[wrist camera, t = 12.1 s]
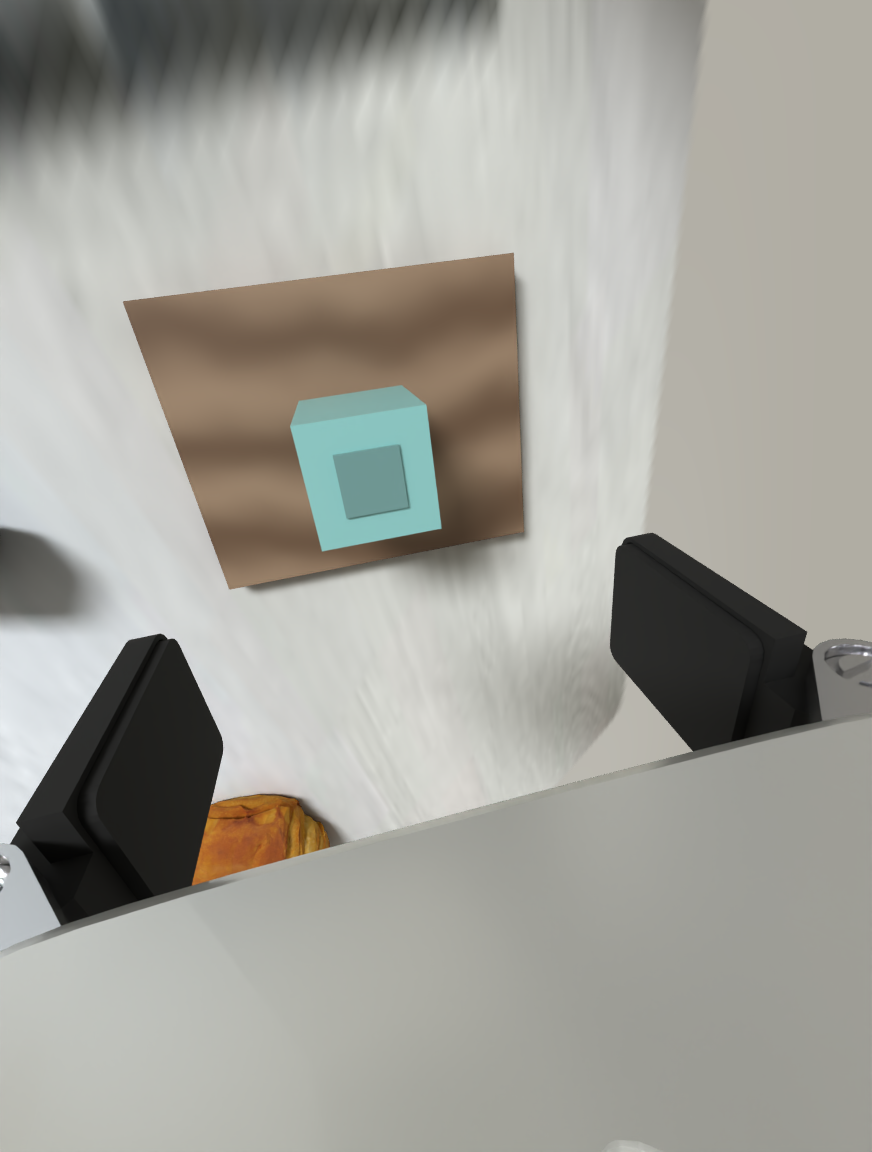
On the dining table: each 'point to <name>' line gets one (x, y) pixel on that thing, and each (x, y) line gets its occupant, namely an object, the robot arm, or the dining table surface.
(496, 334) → the stud board
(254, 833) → the croissant
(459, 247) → the dining table surface
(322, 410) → the teal block
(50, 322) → the dining table surface
